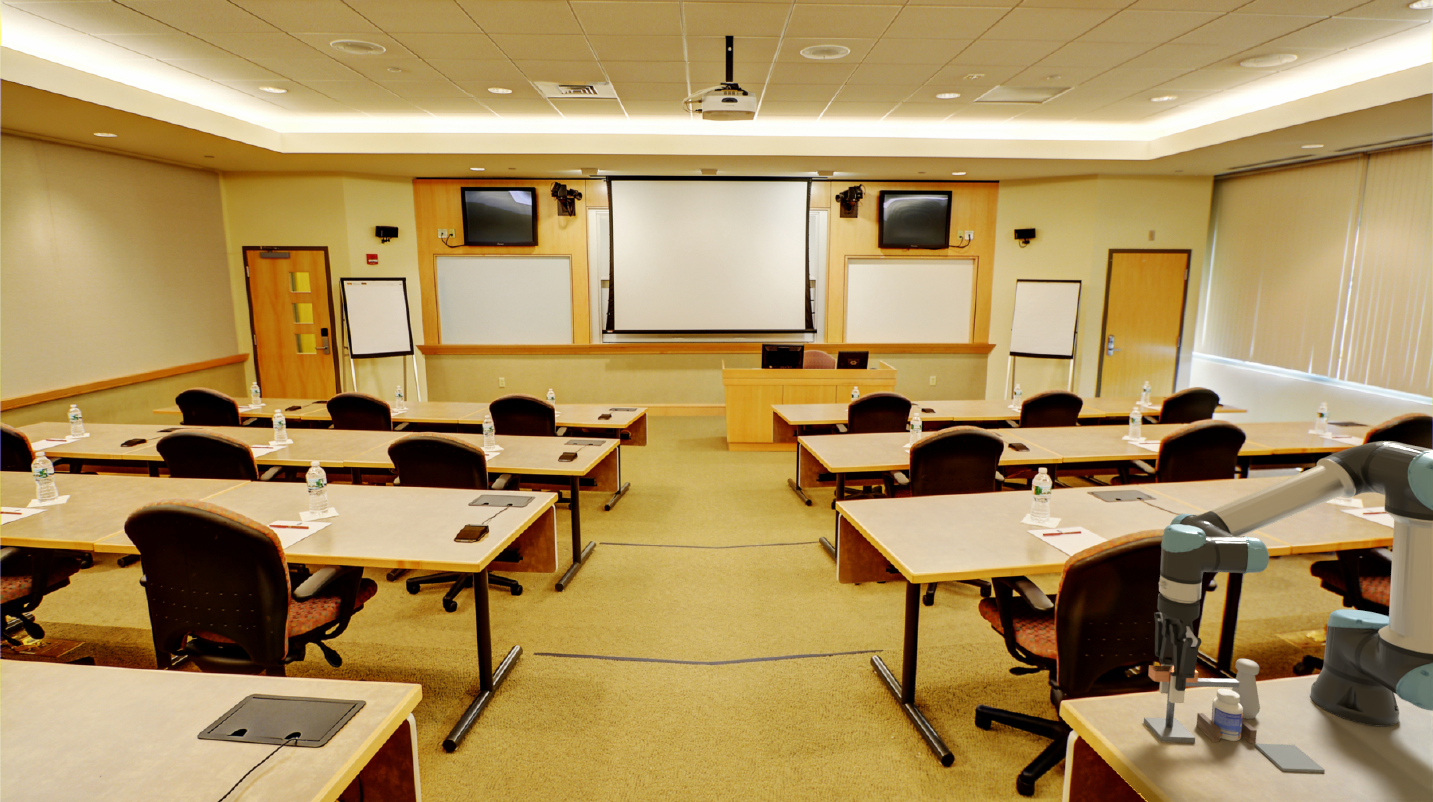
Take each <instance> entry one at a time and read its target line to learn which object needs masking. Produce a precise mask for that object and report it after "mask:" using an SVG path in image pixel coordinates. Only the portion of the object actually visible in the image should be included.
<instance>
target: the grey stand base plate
mask: <svg viewBox="0 0 1433 802" xmlns="http://www.w3.org/2000/svg"><path fill="white" fill-rule="evenodd" d="M1165 723H1166V717H1143V724H1144V725H1145V726H1146V727H1147V728H1148V729H1149V730H1150V731H1151V732H1152V733H1153V734H1154V735H1155V737H1157V739H1158V740H1159V741H1160V742H1163V743H1187V744H1188V743H1191V744H1192V743H1194V744H1195V743H1196V737H1195V736H1194V735H1193V734H1192V732H1190V731H1189V730H1188V728H1187V727H1185V725H1184V724H1182V723H1181V721H1179V719H1177V718H1176V717H1174V720H1173V728H1169V727H1166V726H1165Z"/></svg>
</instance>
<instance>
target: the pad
mask: <svg viewBox="0 0 1433 802" xmlns="http://www.w3.org/2000/svg"><path fill="white" fill-rule="evenodd" d="M1254 746H1255V748H1257V750H1258V751H1260V752H1261V753H1262V754H1263V755H1264V756H1266V758H1267V759H1268V760H1270V761H1271V762H1272V763H1273V764H1274V765H1275V766H1276V767H1277V768H1278V769H1280V771H1282V772H1294V773H1295V772H1296V773H1297V772H1301V773H1324V774H1325V772H1326V769H1325V768H1323V766H1322V765H1320V764H1319V763H1318V762H1316V761H1315V760H1313V758H1311V757H1310V756H1309V755H1308V754H1307V753H1306V752H1305V751H1303V750H1302V749H1301V748H1299V747H1298V746H1297V745H1296V744H1286V743H1285V744H1283V743H1282V744H1281V743H1280V744H1279V743H1254Z"/></svg>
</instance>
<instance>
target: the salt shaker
mask: <svg viewBox="0 0 1433 802" xmlns="http://www.w3.org/2000/svg"><path fill="white" fill-rule="evenodd" d="M1235 669H1236V670H1237V673H1236V677H1235V679H1236V680H1237V681H1238V682H1240V683H1239V688H1235V687H1231V690H1232V691H1235V692H1236V693H1238V694H1239V696H1240V701H1239V703H1240V704H1241V706H1242V707H1243V717H1242V718H1243V719H1244V720H1251V719H1255V718H1256V717H1257V716H1258V714H1259V712H1260V709H1261V704H1260V699H1259V693H1258V687H1257V680H1256V679H1257V678H1256V676H1257V675H1258V674H1259V673H1260V666H1259V664H1258V663H1257V662H1255V661H1254V660H1252V659H1248V658H1238V659H1237V660H1236V662H1235Z"/></svg>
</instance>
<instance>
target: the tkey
mask: <svg viewBox="0 0 1433 802" xmlns="http://www.w3.org/2000/svg"><path fill="white" fill-rule="evenodd" d="M1170 672H1174V666H1161V665H1148V675H1147V676H1148V677H1149V678H1150V679H1151V680H1152V681H1154V682H1157V683H1160V682H1169V684H1168V694H1167V697H1166V698H1167V699H1166V712H1165V713H1166V714H1165V718H1166V723H1165V726H1166V727H1169V728H1173V720H1174V718H1175V717H1174V716H1175V704H1176V703H1171V702H1170V701H1169V692H1170V679H1171V674H1170ZM1239 683H1240V682H1238V681H1237V680H1236V678H1213V677H1211V678H1209V677H1208V678H1205V677H1202V678H1201V677H1199V672H1198V671H1197V669H1195V675H1194V678H1186V687H1203V688H1206V687H1208V688H1233V687H1235V688H1239Z"/></svg>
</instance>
